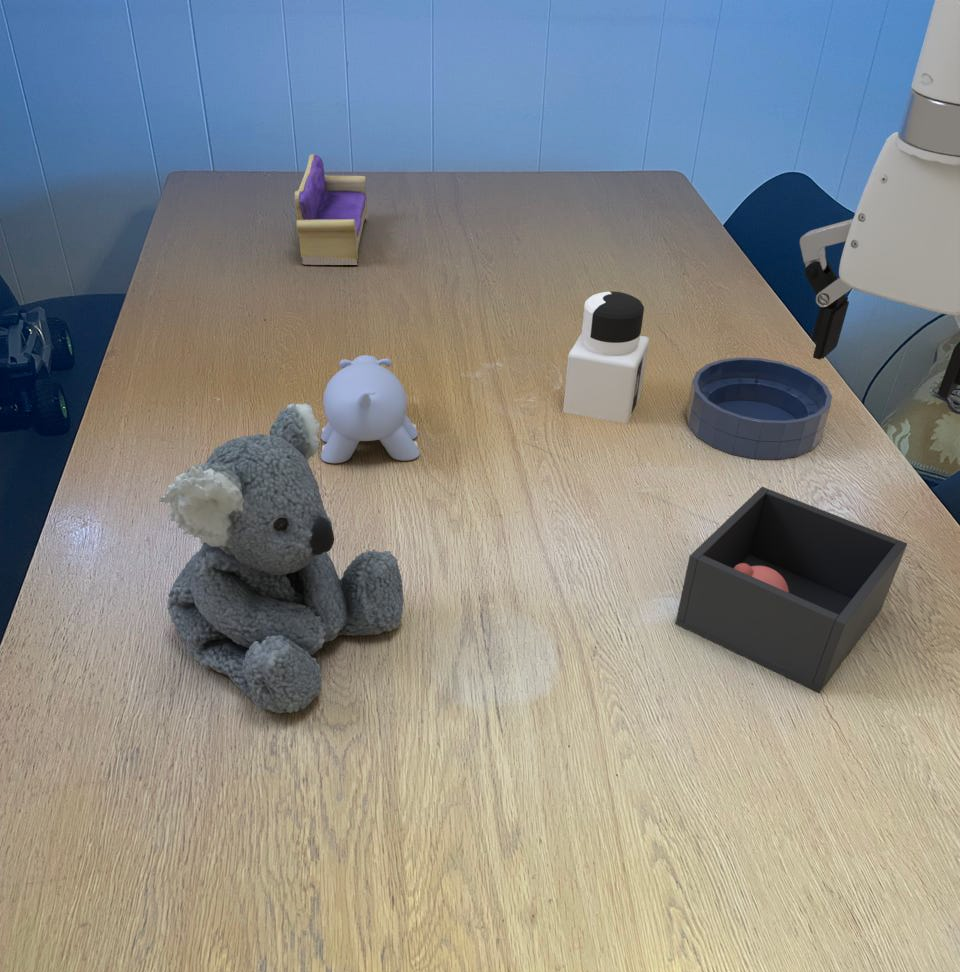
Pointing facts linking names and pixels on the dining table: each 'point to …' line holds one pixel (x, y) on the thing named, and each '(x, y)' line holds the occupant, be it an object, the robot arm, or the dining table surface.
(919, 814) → the dining table surface
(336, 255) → the toy sofa
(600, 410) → the container
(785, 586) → the plush toy
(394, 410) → the hippopotamus toy
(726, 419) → the bowl
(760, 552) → the bin
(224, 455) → the koala plush
